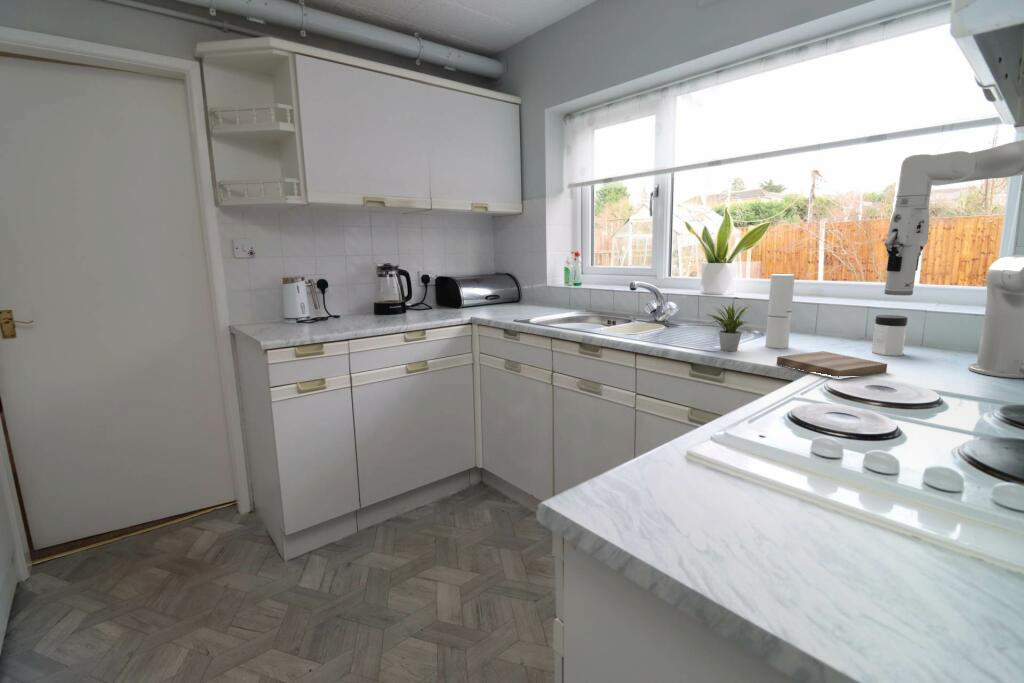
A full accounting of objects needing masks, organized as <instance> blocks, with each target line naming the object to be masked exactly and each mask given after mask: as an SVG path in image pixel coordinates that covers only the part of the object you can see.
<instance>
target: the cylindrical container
mask: <svg viewBox="0 0 1024 683" xmlns="http://www.w3.org/2000/svg"><path fill="white" fill-rule="evenodd" d="M795 277H796V276H795V274H792V273H791V274H789V273H786V274H785V273H782V274H781V273H778V274H776V273H773V274H770V282H769V283H770V284H769V295H768V306H767V307H768V310H767V319H766V320H767V321H766V333H765V334H766V335H765V345H764V346H765V347H767V348H773V349H788V348H789V344H790V343H789V341H790V333H791V330H790V329H791V320H792V308H793V300H794V299H793V298H794V296H793V295H794V287H795V286H794V285H795Z"/></svg>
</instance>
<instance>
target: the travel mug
mask: <svg viewBox="0 0 1024 683" xmlns="http://www.w3.org/2000/svg"><path fill="white" fill-rule="evenodd" d="M922 221H923V223H924V220H922ZM920 223H921V222H919V223H918V224H919V225H918V226H917V229H918V228H919V229H920V228H921V224H920ZM917 231H918V230H917ZM915 234H916V235H917V236H916V241H915V245H913V246H904V248H903V251H902V253H901V256H900V257H902V262H901V270H900V271H899V272H896V271H887V270H886V278H885V286H884V291H883V292H884V295H887V296H888V295H889V296H913V294H914V286H915V280H916V273H917V272H916V266H917V259H918V252H919V240H920V236H919V235H920V234H921V233H920V230H919V231H918V232H916V233H915ZM894 245H901V243H899V242H896V243H895V244H894ZM896 249H897V250H898V248H896Z"/></svg>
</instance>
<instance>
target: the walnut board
mask: <svg viewBox="0 0 1024 683" xmlns="http://www.w3.org/2000/svg"><path fill="white" fill-rule="evenodd" d="M777 364H778V365H777ZM776 365H777V366H779V365H782V366H781V367H783V366H787V367H790V368H789V369H791V368H795V369H800V370H804V371H807V372H806V373H808V372H816V373H821V374H827V375H831V376H838V377H839V376H861V377H866V376H872V375H874V376H875V375H879V374H886V373H887V371H888V370H887V369H888V363H886V362H880V361H876V360H870V359H864V358H861V357H856V356H855V357H854V356H850V355H845V354H839V353H835V352H829V351H825V350H820V351H813V352H805V353H797V354H789V355H782V356H781V355H780V356H777V357H776ZM787 367H786V368H787ZM795 369H794V370H795ZM800 370H799V371H800ZM804 371H803V372H804Z"/></svg>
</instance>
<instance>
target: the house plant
mask: <svg viewBox="0 0 1024 683" xmlns="http://www.w3.org/2000/svg"><path fill="white" fill-rule="evenodd" d="M721 306H722V308H724V309H725V312H726V314H725V312H724V311H723V310H722V309H720V308H718V307H714V306H713V309H714V310H716V311H717V312H718V313H719V314H720V315H721V316H722V318H721V317H719V316H716V315H713V314H706V315H707V316H709V317H712V318H711V319H712V320H713V319H714V321H711V322H710V324H713V323H718V324H719V325H720V326H721V327H722V328H723V329H722V330H719V331H718V335H719V345H720V350H721V351H725V352H737V351H738V348H739V345H740V340H741V336H742V331H739V330H738V328H740V327H741V326H744V325H745V326H746V324H747V322H746V320H741V319H742V316H743V314H744V313H745V311H746V310H748V308H751V307H752V305H749V306H746V307H745V306H744V305H742V306H739V308H737V310H736V311H735V306H734V303H732V306H730V305H729V304H727V308H726V307H725V305H723V304H722V303H721ZM710 307H712V306H710ZM743 307H744V308H743ZM741 308H743V309H741ZM740 309H741V310H740ZM739 310H740V312H739V313H738V311H739ZM737 313H738V315H737Z"/></svg>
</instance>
